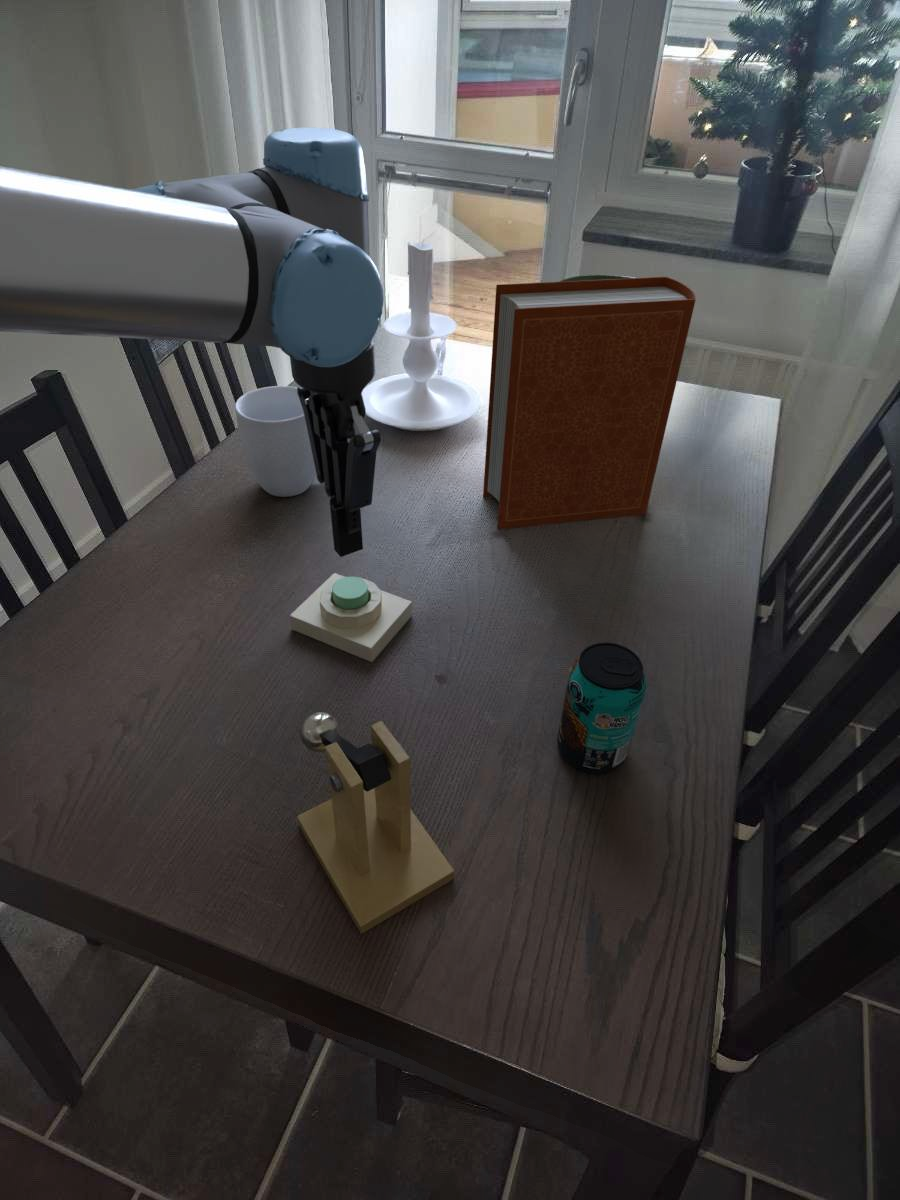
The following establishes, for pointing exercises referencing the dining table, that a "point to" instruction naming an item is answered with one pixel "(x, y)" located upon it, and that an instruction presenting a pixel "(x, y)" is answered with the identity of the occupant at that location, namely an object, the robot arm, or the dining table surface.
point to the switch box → (352, 620)
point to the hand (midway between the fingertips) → (348, 549)
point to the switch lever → (345, 749)
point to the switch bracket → (373, 837)
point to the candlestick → (421, 363)
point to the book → (581, 396)
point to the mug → (276, 440)
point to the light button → (350, 593)
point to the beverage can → (601, 707)
